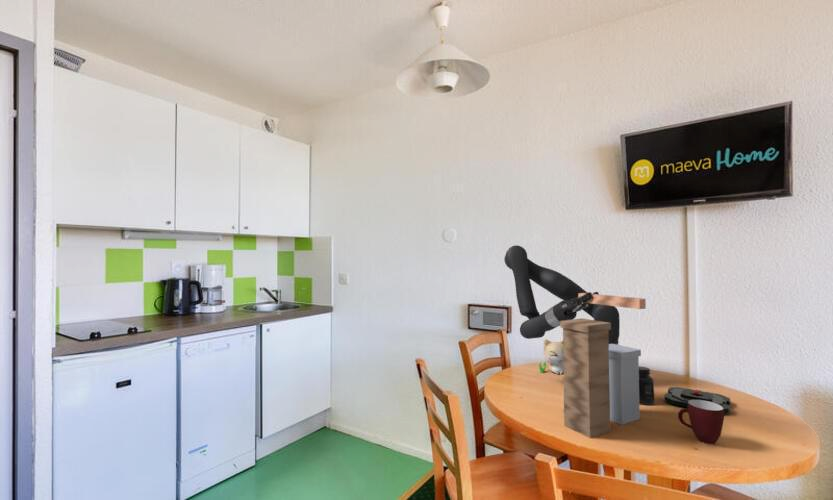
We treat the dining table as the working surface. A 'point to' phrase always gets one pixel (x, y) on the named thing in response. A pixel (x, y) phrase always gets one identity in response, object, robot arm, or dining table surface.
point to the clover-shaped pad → (695, 397)
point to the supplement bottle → (645, 387)
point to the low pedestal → (624, 383)
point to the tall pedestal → (586, 376)
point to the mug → (704, 420)
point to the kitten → (553, 356)
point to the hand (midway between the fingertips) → (594, 294)
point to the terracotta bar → (616, 301)
